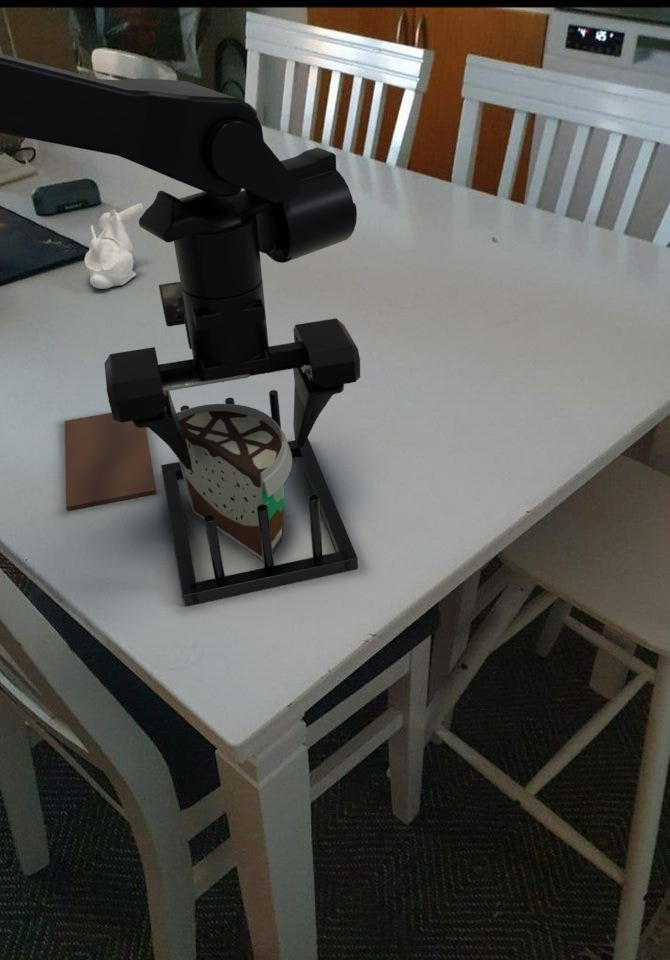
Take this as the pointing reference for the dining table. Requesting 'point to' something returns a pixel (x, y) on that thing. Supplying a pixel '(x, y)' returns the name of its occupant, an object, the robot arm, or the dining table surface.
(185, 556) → the drying rack
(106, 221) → the white sculpted figure
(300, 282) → the dining table surface
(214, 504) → the food container
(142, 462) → the walnut board
